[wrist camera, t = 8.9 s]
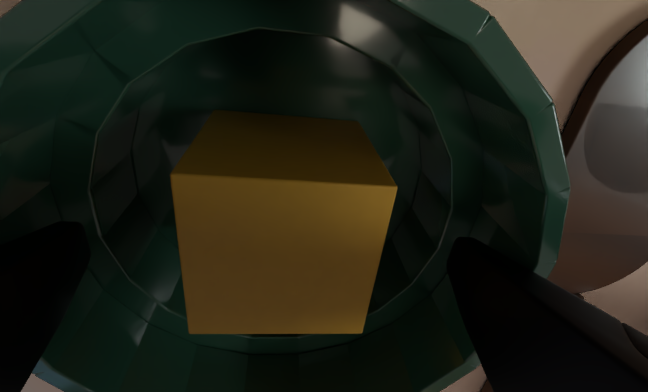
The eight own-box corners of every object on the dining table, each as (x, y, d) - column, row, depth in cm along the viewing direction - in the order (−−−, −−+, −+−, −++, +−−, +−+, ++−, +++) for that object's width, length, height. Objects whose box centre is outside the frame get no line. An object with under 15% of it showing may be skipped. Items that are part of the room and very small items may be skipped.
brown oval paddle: (526, 414, 22) (534, 427, 21) (428, 417, 21) (433, 432, 20) (815, 8, 11) (851, 9, 10) (633, -21, 10) (660, -22, 9)
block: (340, 235, 13) (362, 334, 9) (219, 230, 12) (188, 335, 8) (359, 121, 11) (398, 187, 7) (213, 108, 10) (168, 174, 6)
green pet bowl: (408, 300, 16) (461, 432, 11) (127, 297, 14) (45, 450, 9) (504, -2, 10) (710, -5, 5) (45, -67, 8) (-295, -162, 3)
